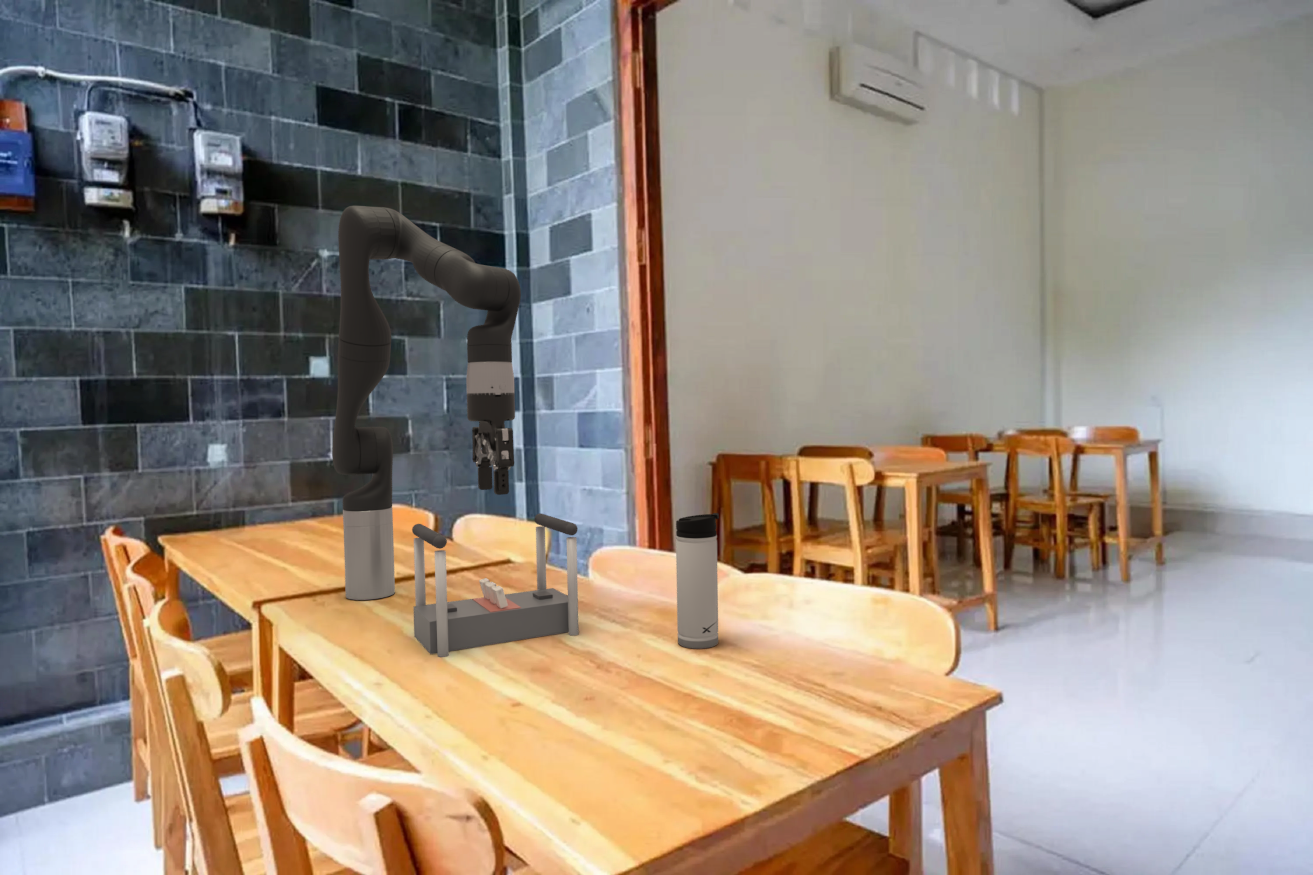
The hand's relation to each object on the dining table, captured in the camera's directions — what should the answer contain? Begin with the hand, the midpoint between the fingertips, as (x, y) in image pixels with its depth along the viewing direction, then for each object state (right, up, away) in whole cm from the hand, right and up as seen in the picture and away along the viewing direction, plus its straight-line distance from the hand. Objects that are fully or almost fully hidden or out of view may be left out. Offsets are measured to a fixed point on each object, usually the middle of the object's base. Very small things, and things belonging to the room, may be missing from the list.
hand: (493, 491), depth 132 cm
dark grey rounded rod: (-9, -7, -5) cm, 13 cm away
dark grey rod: (+9, -7, +5) cm, 13 cm away
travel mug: (+33, -23, -6) cm, 41 cm away
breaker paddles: (0, -18, +1) cm, 18 cm away
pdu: (0, -23, +1) cm, 23 cm away
